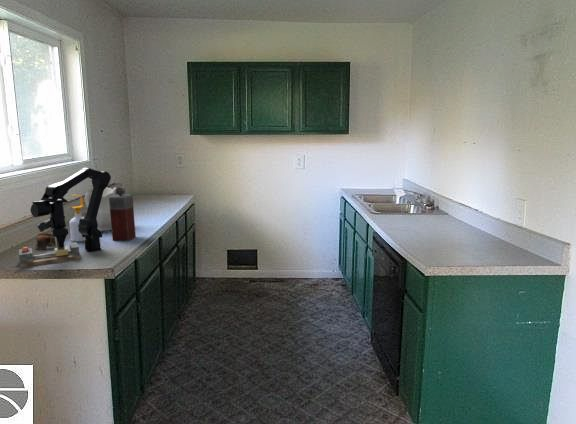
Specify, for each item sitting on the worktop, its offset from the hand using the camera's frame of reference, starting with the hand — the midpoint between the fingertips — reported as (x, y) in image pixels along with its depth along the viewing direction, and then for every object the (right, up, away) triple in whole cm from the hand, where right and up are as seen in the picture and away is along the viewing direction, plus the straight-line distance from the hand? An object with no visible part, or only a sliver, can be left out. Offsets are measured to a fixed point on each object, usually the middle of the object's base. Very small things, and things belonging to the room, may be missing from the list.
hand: (60, 246), depth 205 cm
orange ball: (-12, -2, -7) cm, 14 cm away
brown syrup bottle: (+16, +2, +37) cm, 40 cm away
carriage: (0, -4, +1) cm, 4 cm away
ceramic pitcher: (-4, +6, +58) cm, 59 cm away
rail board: (-3, -6, -1) cm, 7 cm away
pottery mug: (-17, -2, +20) cm, 27 cm away
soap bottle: (-7, +1, +35) cm, 35 cm away
